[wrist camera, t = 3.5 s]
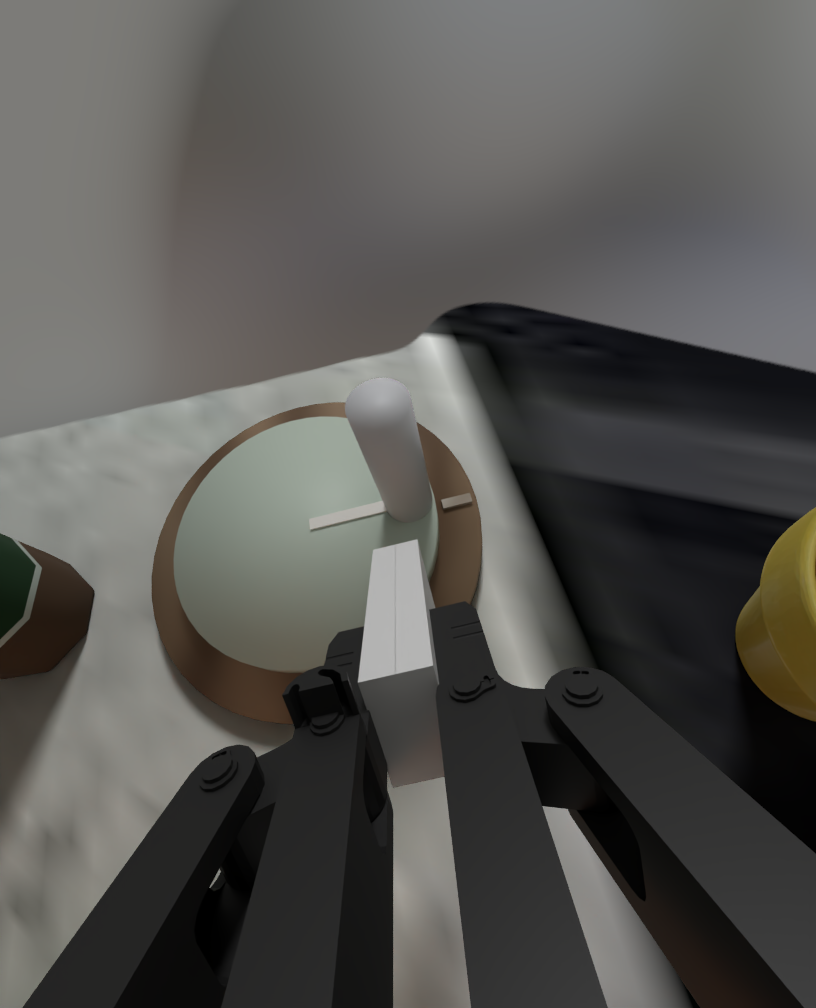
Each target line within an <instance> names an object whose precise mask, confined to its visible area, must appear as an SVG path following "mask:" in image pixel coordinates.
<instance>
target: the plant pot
mask: <svg viewBox="0 0 816 1008" xmlns="http://www.w3.org/2000/svg"><path fill="white" fill-rule="evenodd" d="M736 646H737V650H738V654H739V656H740V659H741V662H742V664H743V666H744V668H745V670H746V671H747V673H748V675H749V676H750V678H751V679H752V680H753V682H754V683H755V684H756V685H757V687H758V688H759V689H760V690H761V691H762V692H763V693H764V694H765V695H766V696H767V697H769V698H770V699H771V700H772V701H774V702H775V703H776V704H778V705H779V706H781V707H783V708H784V709H786V710H788V711H790V712H792V713H793V714H795V715H798V716H800V717H803V718H805V719H808V720H811V721H815V722H816V507H815V508H814V509H813V510H811V511H810V512H808V513H807V514H806V515H804V516H803V517H802V518H801V519H799V520H798V521H797V522H796V523H795V524H793V525H792V526H791V527H790V528H789V529H788V530H787V531H785V533H784V534H783V535H782V536H781V537H780V538H779V539H778V540H777V542H776V543H775V544H774V546H773V547H772V549H771V551H770V553H769V555H768V557H767V559H766V562H765V564H764V567H763V571H762V576H761V582H760V587H759V588H758V589H757V591H756V592H755V593H754V594H753V596H752V597H751V598H750V600H749V601H748V602H747V604H746V605H745V606H744V608H743V609H742V611H741V613H740V615H739V618H738V620H737V624H736Z"/></svg>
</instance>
